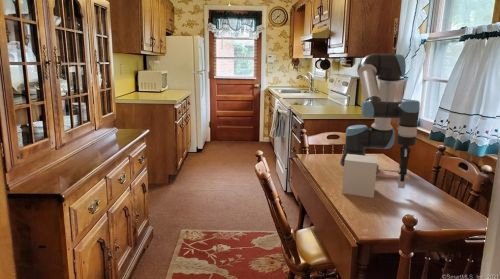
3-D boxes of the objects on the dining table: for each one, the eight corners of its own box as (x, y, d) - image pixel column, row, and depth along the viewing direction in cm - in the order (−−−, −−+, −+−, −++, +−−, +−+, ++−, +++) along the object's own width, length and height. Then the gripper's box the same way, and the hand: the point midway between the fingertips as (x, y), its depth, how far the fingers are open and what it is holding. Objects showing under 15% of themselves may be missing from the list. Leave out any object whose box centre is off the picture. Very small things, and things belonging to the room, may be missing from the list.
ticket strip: (354, 169, 176) (354, 167, 176) (408, 175, 168) (409, 173, 168) (353, 172, 170) (353, 170, 170) (409, 179, 163) (409, 177, 162)
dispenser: (344, 185, 182) (347, 153, 179) (376, 189, 177) (379, 157, 174) (341, 193, 171) (344, 159, 168) (375, 197, 166) (379, 163, 163)
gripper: (397, 130, 172) (391, 178, 177) (398, 138, 155) (392, 191, 160) (414, 132, 170) (408, 180, 175) (417, 140, 152) (411, 193, 157)
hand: (401, 185), depth 167 cm, fingers closed on ticket strip, 6 cm apart
